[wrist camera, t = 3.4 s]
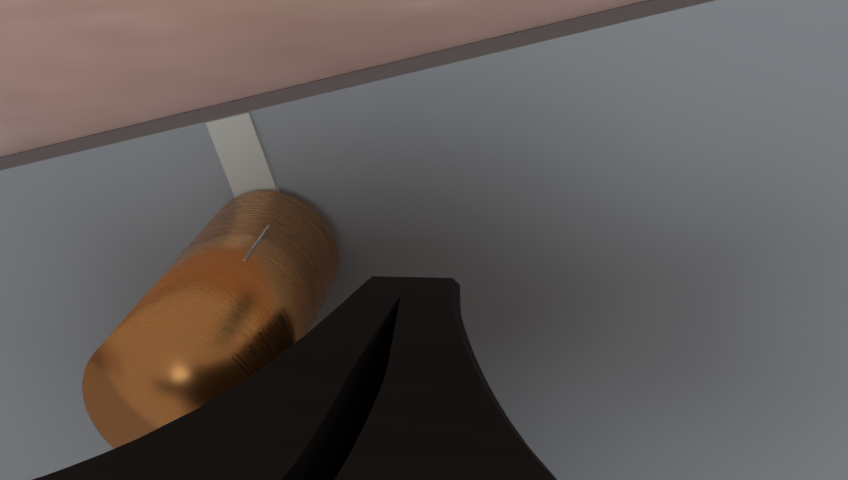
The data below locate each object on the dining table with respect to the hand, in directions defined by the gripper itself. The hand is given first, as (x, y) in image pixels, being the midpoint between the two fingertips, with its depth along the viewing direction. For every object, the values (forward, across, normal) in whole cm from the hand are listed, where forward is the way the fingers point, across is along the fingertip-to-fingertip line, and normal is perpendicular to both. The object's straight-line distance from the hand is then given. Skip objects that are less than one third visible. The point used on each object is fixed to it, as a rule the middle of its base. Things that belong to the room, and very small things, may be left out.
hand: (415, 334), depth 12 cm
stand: (+4, +1, +7) cm, 8 cm away
